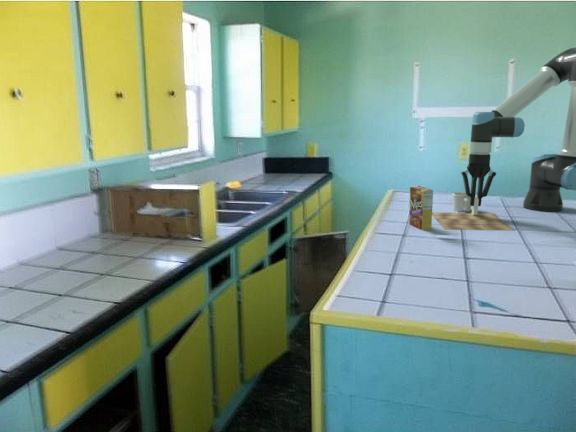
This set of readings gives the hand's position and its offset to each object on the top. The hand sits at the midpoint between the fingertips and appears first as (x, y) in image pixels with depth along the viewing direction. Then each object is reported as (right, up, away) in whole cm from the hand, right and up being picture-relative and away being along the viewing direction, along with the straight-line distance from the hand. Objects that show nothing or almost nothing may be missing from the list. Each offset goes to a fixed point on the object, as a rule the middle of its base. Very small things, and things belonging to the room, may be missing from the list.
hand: (474, 214), depth 195 cm
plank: (-4, -2, -1) cm, 4 cm away
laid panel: (-5, -5, -13) cm, 15 cm away
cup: (-1, 0, +10) cm, 10 cm away
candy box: (-25, -6, -15) cm, 30 cm away
